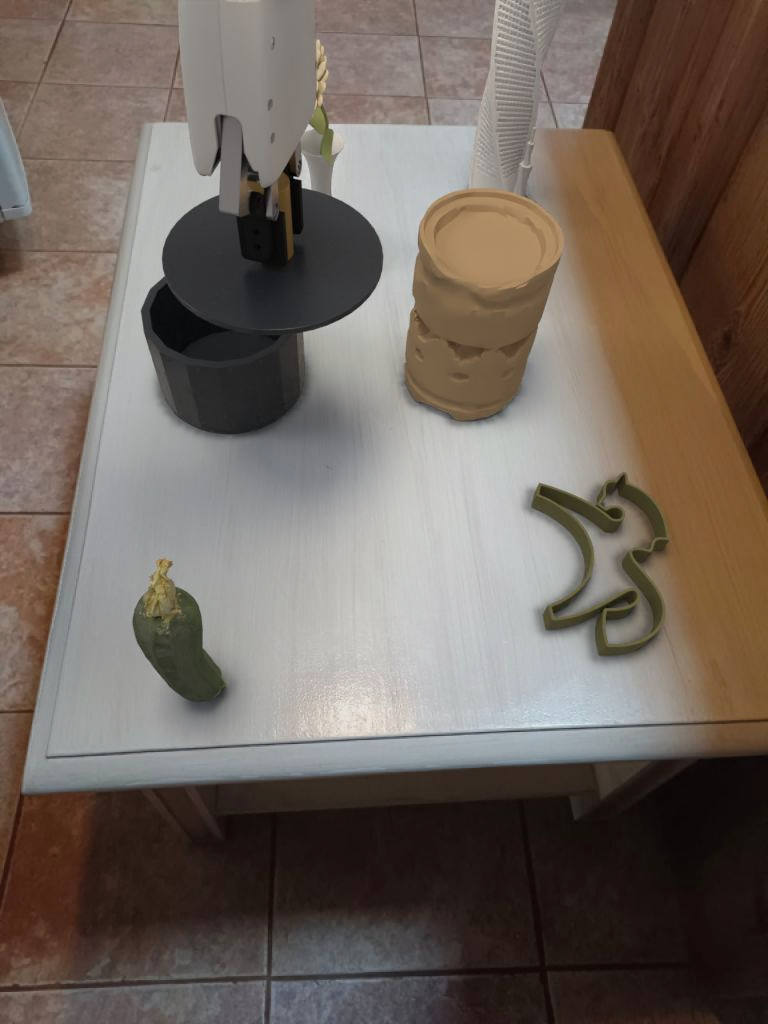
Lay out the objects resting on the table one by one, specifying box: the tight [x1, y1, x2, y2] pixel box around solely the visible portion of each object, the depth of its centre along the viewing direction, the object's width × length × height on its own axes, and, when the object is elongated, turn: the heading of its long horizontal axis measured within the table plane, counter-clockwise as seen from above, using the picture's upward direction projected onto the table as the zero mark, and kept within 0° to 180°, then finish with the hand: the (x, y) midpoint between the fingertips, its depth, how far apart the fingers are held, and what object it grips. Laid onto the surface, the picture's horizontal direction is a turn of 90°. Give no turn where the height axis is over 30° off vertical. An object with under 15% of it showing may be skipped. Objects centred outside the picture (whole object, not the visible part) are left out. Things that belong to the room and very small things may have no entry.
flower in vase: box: [300, 38, 345, 197], centre depth 76 cm, size 13×11×25 cm
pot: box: [140, 275, 306, 435], centre depth 72 cm, size 15×15×10 cm
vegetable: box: [131, 556, 227, 704], centre depth 50 cm, size 4×4×20 cm
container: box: [404, 188, 565, 422], centre depth 70 cm, size 13×13×18 cm
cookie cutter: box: [530, 471, 670, 657], centre depth 65 cm, size 18×12×2 cm, turn 178°
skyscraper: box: [468, 0, 567, 197], centre depth 82 cm, size 8×8×28 cm
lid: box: [161, 172, 384, 335], centre depth 50 cm, size 16×16×7 cm
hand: (273, 242), depth 51 cm, fingers closed on lid, 2 cm apart
